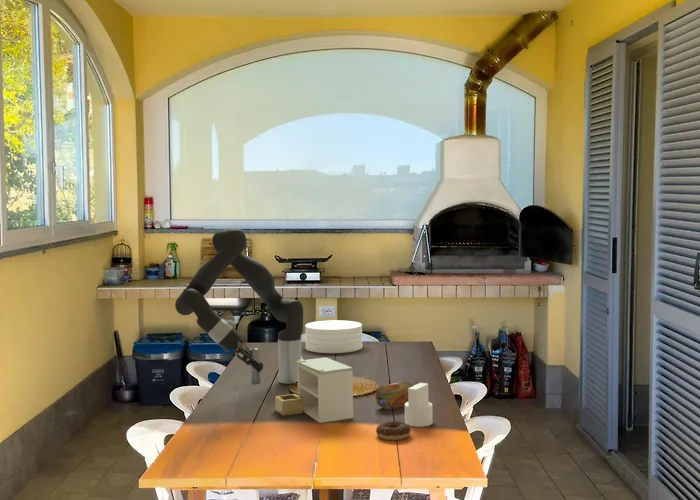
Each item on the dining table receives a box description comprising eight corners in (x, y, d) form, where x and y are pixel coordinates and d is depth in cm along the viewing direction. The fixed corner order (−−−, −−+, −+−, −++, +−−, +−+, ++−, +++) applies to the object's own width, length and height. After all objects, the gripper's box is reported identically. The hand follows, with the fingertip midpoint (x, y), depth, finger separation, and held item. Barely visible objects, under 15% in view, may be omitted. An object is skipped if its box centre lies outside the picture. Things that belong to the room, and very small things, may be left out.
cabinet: (330, 403, 270) (329, 356, 269) (354, 418, 251) (353, 367, 250) (296, 408, 264) (295, 359, 263) (318, 423, 246) (317, 371, 245)
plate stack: (304, 343, 386) (303, 321, 385) (358, 341, 389) (358, 319, 388) (307, 354, 358) (306, 330, 357) (365, 352, 361) (365, 328, 360)
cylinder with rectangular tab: (424, 428, 240) (424, 390, 239) (399, 424, 244) (399, 387, 244) (437, 420, 247) (437, 384, 246) (412, 417, 252) (412, 381, 251)
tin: (378, 411, 260) (378, 386, 259) (374, 408, 263) (374, 384, 262) (415, 405, 267) (415, 381, 266) (411, 403, 270) (410, 379, 269)
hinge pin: (258, 381, 261) (257, 347, 260) (261, 383, 258) (260, 349, 257) (249, 382, 260) (248, 348, 259) (252, 384, 257) (251, 350, 256)
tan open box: (297, 407, 265) (297, 393, 265) (304, 412, 259) (304, 398, 258) (275, 410, 262) (275, 396, 262) (282, 415, 255) (282, 401, 255)
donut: (415, 440, 228) (415, 427, 228) (382, 443, 225) (382, 430, 225) (403, 430, 238) (403, 417, 238) (371, 433, 235) (371, 420, 235)
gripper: (230, 330, 250) (268, 365, 252) (233, 323, 264) (269, 356, 266) (214, 347, 250) (252, 381, 252) (218, 338, 264) (254, 371, 266)
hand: (261, 368), depth 259 cm, fingers closed on hinge pin, 3 cm apart
